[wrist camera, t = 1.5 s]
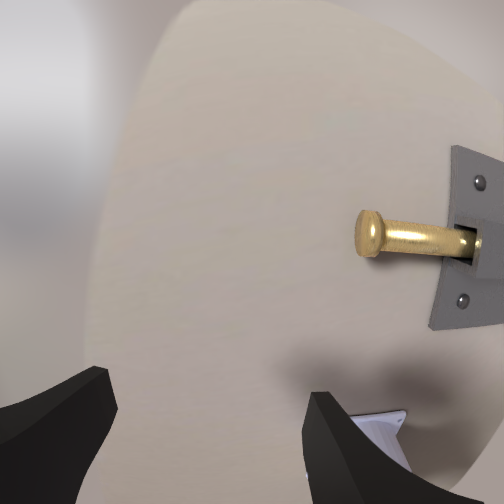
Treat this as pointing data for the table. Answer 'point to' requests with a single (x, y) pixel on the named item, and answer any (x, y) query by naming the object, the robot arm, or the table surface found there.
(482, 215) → the hinge
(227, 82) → the table surface
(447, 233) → the pin
